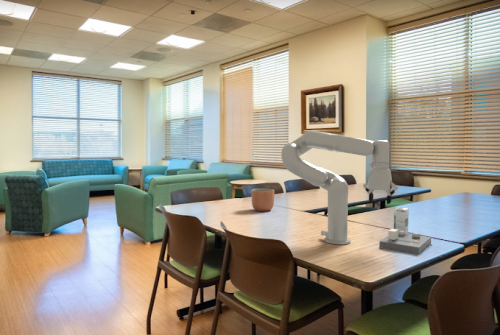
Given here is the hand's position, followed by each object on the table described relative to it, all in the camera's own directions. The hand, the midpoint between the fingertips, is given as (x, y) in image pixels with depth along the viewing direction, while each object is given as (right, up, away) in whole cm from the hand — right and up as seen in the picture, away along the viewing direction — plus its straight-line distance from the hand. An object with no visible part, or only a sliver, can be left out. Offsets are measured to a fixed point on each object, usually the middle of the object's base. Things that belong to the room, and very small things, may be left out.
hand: (379, 202), depth 172 cm
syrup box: (+17, -19, +16) cm, 30 cm away
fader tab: (+5, -17, -3) cm, 18 cm away
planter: (-53, -15, +93) cm, 108 cm away
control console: (+11, -20, -3) cm, 23 cm away
